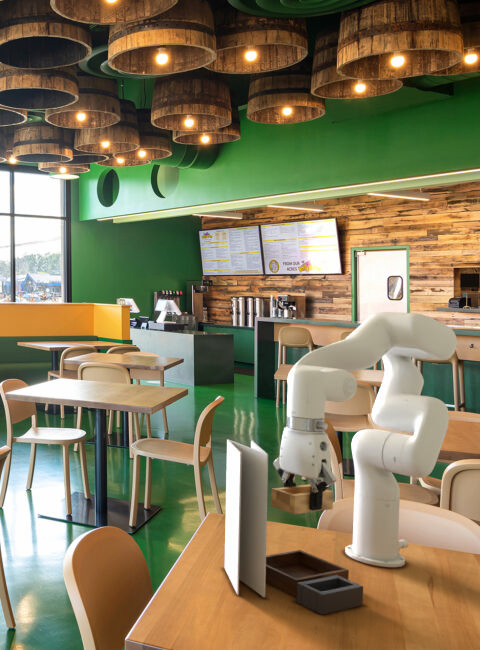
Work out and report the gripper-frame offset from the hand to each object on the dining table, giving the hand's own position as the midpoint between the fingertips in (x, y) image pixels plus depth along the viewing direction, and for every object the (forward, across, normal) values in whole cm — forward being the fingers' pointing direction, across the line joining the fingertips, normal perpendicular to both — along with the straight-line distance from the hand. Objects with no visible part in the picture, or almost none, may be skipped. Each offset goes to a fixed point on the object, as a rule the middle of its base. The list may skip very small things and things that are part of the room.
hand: (302, 504), depth 148 cm
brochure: (+17, +4, +13) cm, 22 cm away
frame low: (+17, -10, +4) cm, 21 cm away
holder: (+17, +1, 0) cm, 17 cm away
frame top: (+1, 0, 0) cm, 1 cm away
